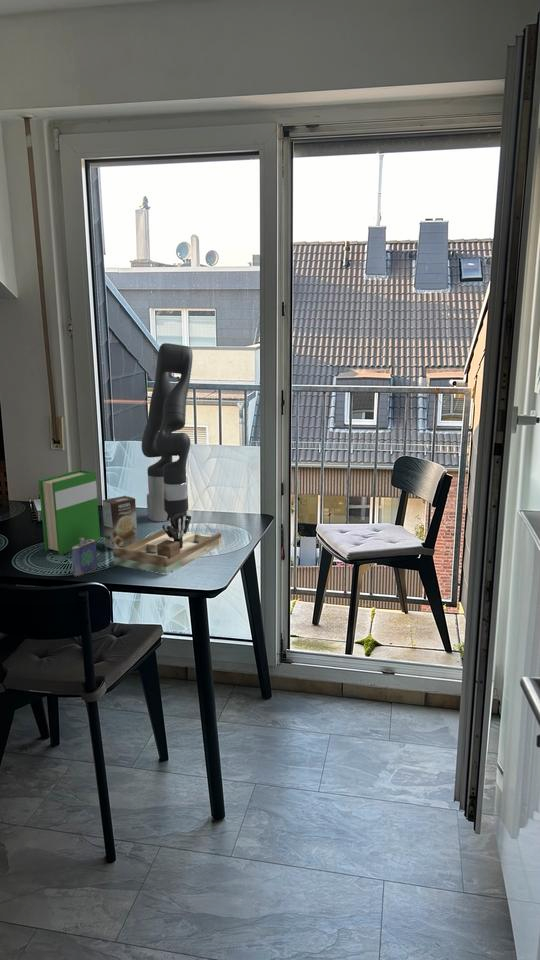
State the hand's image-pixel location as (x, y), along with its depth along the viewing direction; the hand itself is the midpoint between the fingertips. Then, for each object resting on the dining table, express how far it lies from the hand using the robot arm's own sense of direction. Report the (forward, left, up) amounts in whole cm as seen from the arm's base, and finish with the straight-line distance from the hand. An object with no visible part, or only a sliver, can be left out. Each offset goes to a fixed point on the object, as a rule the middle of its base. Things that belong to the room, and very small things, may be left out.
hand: (178, 548), depth 219 cm
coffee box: (-25, +2, -4) cm, 25 cm away
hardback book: (-40, -5, -4) cm, 40 cm away
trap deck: (-5, +2, -3) cm, 6 cm away
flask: (-19, -22, -4) cm, 29 cm away
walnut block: (0, -5, -1) cm, 5 cm away
